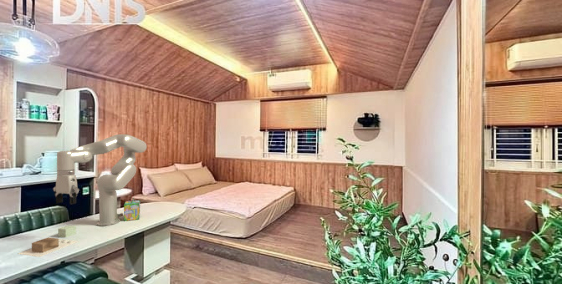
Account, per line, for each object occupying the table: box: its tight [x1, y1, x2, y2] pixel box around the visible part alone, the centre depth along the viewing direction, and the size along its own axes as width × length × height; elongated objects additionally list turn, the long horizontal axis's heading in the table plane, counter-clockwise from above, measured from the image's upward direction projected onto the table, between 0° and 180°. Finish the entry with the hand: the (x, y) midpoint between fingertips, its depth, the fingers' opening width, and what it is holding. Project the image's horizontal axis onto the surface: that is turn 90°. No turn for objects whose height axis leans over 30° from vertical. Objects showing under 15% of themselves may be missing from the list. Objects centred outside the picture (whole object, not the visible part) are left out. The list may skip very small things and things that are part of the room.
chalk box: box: [123, 196, 141, 222], centre depth 173 cm, size 9×9×15 cm
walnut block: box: [31, 236, 60, 253], centre depth 124 cm, size 7×7×4 cm
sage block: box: [57, 224, 77, 238], centre depth 142 cm, size 6×6×6 cm
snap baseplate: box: [17, 238, 80, 258], centre depth 126 cm, size 18×14×2 cm
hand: (66, 203), depth 141 cm, fingers open, 9 cm apart
